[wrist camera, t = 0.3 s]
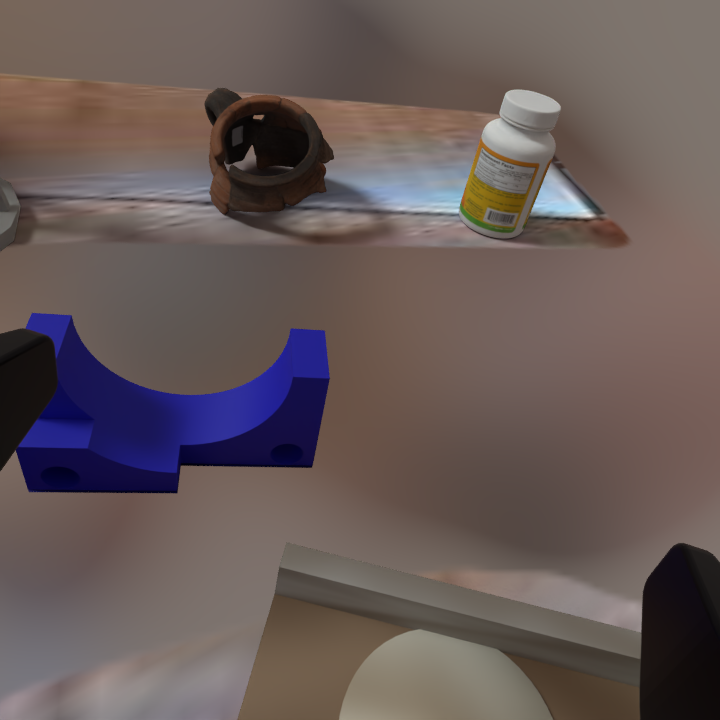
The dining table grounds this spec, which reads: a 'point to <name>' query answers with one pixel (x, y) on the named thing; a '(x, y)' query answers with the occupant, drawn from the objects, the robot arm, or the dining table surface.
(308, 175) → the pottery mug
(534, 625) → the walnut board
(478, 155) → the supplement bottle
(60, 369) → the blue notched block
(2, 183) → the vase
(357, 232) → the dining table surface
